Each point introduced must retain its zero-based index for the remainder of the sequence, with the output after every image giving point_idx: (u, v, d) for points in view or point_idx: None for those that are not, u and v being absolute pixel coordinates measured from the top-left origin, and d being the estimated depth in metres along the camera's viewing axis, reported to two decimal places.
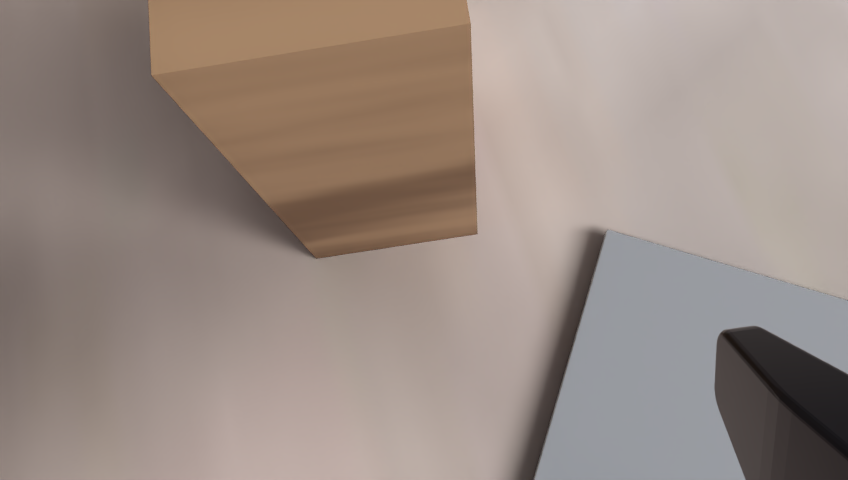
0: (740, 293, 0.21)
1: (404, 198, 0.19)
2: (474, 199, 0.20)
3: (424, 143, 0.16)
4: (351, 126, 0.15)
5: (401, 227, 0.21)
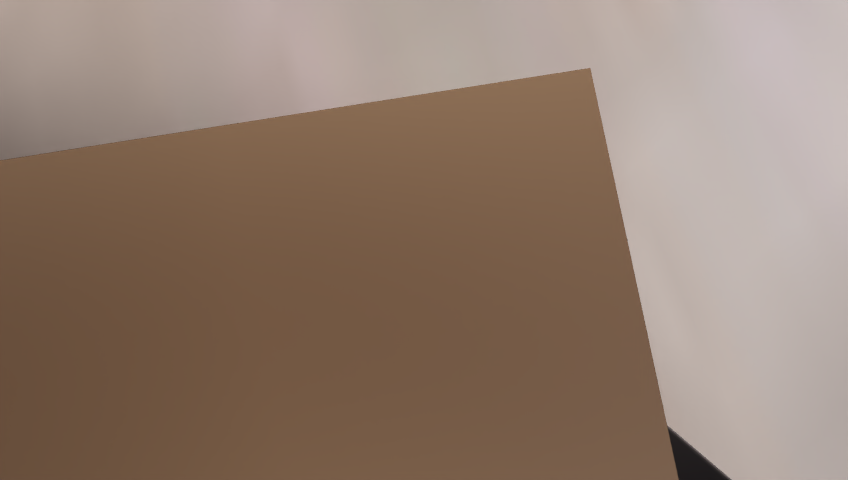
0: None
1: None
2: None
3: None
4: None
5: None
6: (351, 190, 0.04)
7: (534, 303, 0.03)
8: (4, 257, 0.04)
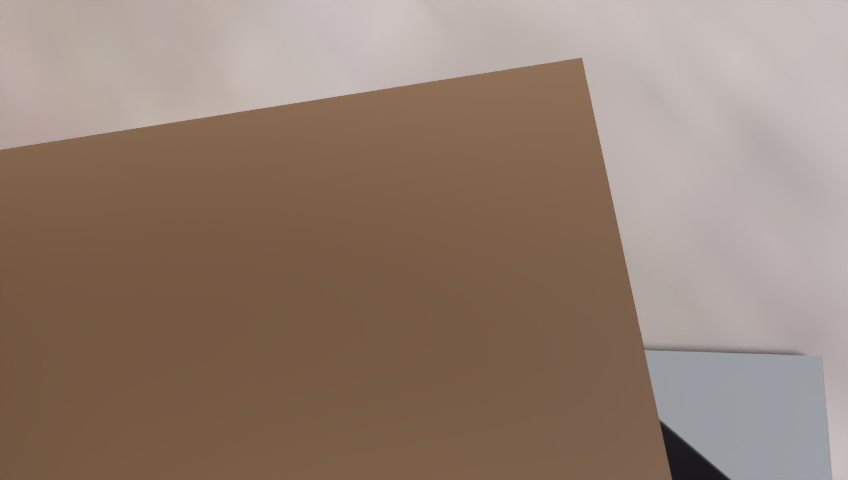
0: None
1: None
2: None
3: None
4: None
5: None
6: (343, 180, 0.04)
7: (527, 292, 0.03)
8: None
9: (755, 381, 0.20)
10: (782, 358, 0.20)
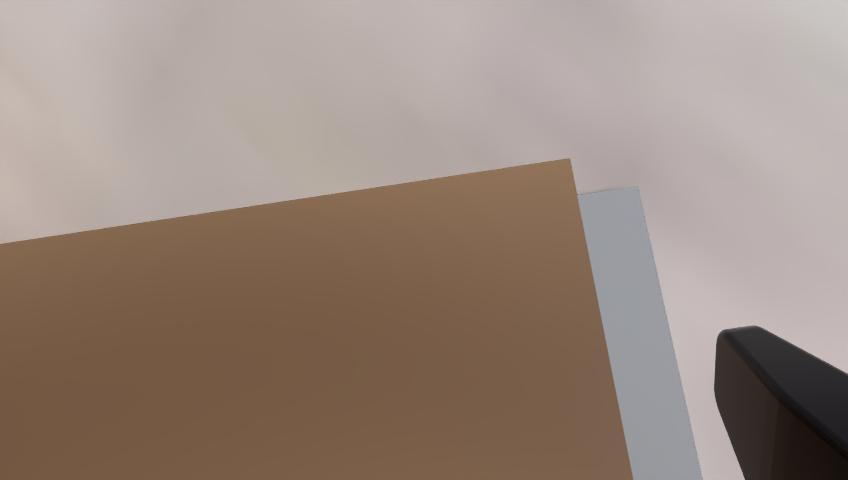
0: None
1: None
2: None
3: None
4: None
5: None
6: (386, 253, 0.05)
7: (527, 343, 0.05)
8: (118, 304, 0.05)
9: None
10: (594, 196, 0.17)
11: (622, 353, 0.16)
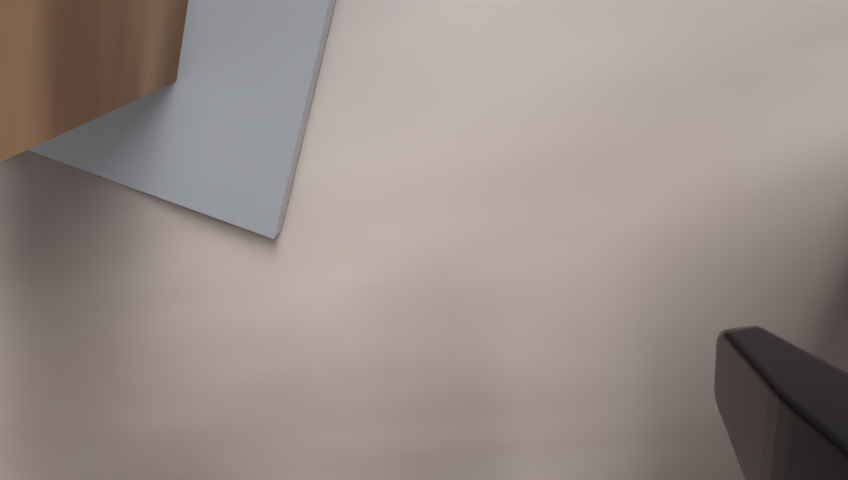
0: None
1: None
2: None
3: None
4: None
5: None
6: None
7: None
8: None
9: None
10: None
11: None
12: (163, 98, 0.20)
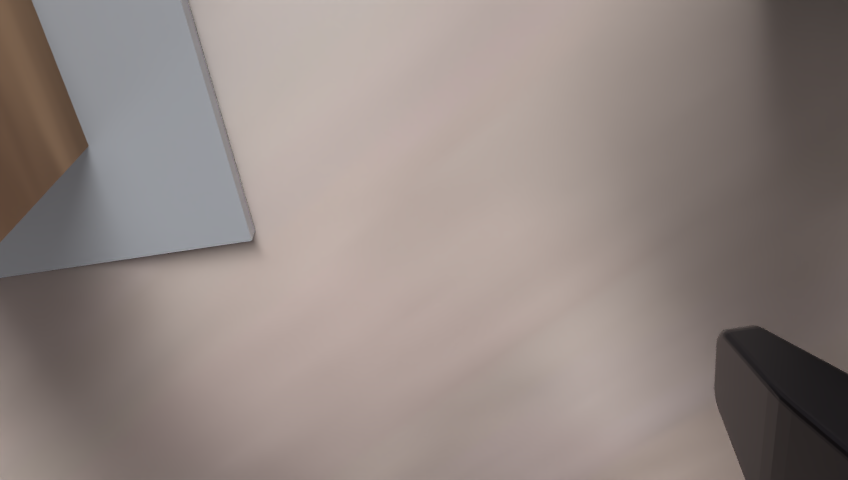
0: None
1: None
2: None
3: None
4: None
5: (13, 59, 0.17)
6: None
7: None
8: None
9: None
10: None
11: None
12: (86, 168, 0.20)
